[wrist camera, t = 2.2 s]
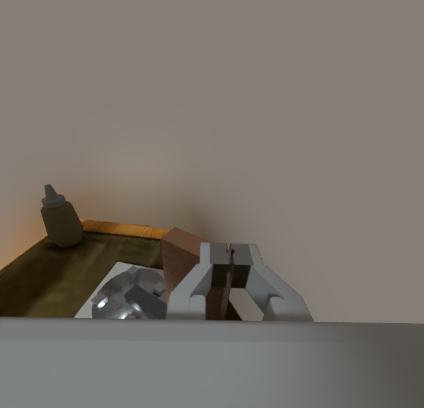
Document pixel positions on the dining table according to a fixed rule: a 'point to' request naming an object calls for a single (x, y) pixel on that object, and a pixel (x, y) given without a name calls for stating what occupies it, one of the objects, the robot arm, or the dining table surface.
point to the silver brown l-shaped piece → (158, 284)
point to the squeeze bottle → (60, 219)
